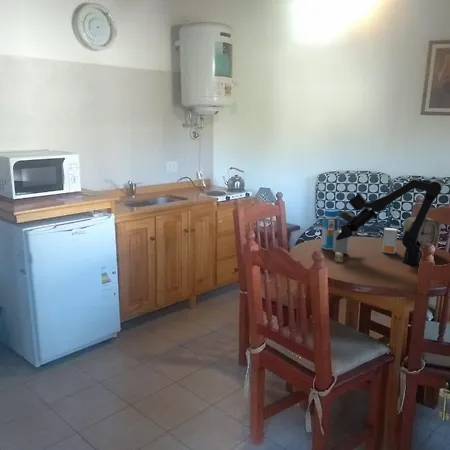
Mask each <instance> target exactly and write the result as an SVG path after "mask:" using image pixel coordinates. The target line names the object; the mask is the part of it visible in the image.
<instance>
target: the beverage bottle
mask: <svg viewBox="0 0 450 450" xmlns="http://www.w3.org/2000/svg"><path fill="white" fill-rule="evenodd" d="M338 216H339V210H338V209H337V208H336V209H335V208H325V210H324V219H323V220H322V227H321V229H322V231H321V248H322V249H324V250H327V251H328V250H330V251H333V234H334V231H335V230H340V227H339V225H340V222H339V219H338Z"/></svg>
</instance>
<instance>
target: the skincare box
mask: <svg viewBox="0 0 450 450" xmlns="http://www.w3.org/2000/svg"><path fill="white" fill-rule="evenodd" d="M398 231H399V229H398V228H392V227H391V228H390V227H385V228H384V230H383V238H382V250H381V253H387V254H393V255H394V254H395V253H396V252H397V251H396V250H397V240H398Z"/></svg>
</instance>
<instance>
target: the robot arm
mask: <svg viewBox="0 0 450 450" xmlns="http://www.w3.org/2000/svg"><path fill="white" fill-rule="evenodd" d="M415 189H416V190H421V191H425V194H424V199H423V202H422V203H421V204H422V205H420V206H421V207H420V208H419V209H418V210H419V212H418V211H417V214H416V215H417V217H416V216H415V217H416V219H415V221H414V223H413V225H412V227H411V229H408V228H407V229H406V230H405V234H404V236H403V235H402V237H401V239H402V242H401V243H402V245H403V246H404V248H405V251H404V254H403V255H404V257H403V261H402V263H403V264H406V265H410V266H412V267H416V266H419V262H420V259H421V260H422V255H423V251H421V246H422V245H421V243H420V242H419V241H418V236H419V232H420V228H421V226H422V224H423V222H424V220H425V218H426V215H427V216H428V214H429V211H430V209H431V207H432V205H433V202H434V201H435V200H436V198H437V197H438V196H439V195H440V193H441V191H442V190H443V183H442V182H441V181H439V180H437V179H435V180H423V179H418V178H413V179H411V180H410V181H408V182H407V183H405V184H403V185H402V186H401V187H398V188H397V189H395V190H394V191H392V192H390V193H388V194H386V195H383V196H380V197H378V198H376V199H375V200H374V199H373V200H368V201H367V199H365V197H364V196H363V195H362V193H361V192H360V193H358V194H356V195H354V197H352V198H351V199H350V200H349V201H348V203H349V205H351V207H352V208H353V209H354V210H355V211H356V212H359V213H357V214H353V213H352V212H350V211H348V210H347V209H344V210H342V212H341V213H340V215H339V218H341V219H343V220H345V221H347V223H344V224H343V225H341V227H340V230H341V232H340V234H339V235H338V236H337V238H336V240H340V239H344V238H347V237H349V238H350V237H352V236H353V235H354V234H355V233H357V232H358V231H359V230H361V229H362V227H363V226H365V225H366V224H367V223H368V222H370V221H371V220H372V219H374V220H378V219H379V215H380V213H379V212H382V211H383V210H384V209H385V208H387V207H388V206H389V205H391V203H392V202H394V201H395V200H397V199H399V198H400V197H402V196H404V195H405V194H407V193H409V192H411V191H413V190H415Z"/></svg>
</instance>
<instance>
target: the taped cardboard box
mask: <svg viewBox="0 0 450 450" xmlns="http://www.w3.org/2000/svg"><path fill="white" fill-rule="evenodd" d="M334 253H335V254H334V262H336V263H344V253H340V252H334Z"/></svg>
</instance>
